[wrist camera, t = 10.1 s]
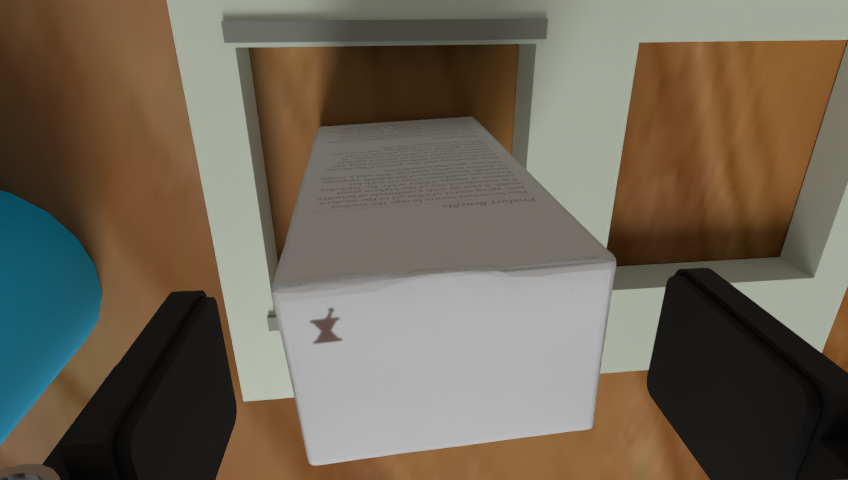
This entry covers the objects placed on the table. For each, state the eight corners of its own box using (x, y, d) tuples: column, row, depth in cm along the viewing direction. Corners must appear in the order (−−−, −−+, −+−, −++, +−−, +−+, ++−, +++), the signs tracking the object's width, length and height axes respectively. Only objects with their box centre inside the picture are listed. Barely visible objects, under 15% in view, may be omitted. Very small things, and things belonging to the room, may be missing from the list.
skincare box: (330, 229, 21) (297, 474, 10) (316, 123, 19) (259, 283, 8) (478, 217, 21) (599, 437, 11) (478, 113, 20) (625, 250, 9)
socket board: (935, -94, 18) (1005, -106, 16) (788, 331, 26) (823, 358, 24) (168, -106, 16) (140, -122, 14) (252, 370, 23) (242, 404, 21)
